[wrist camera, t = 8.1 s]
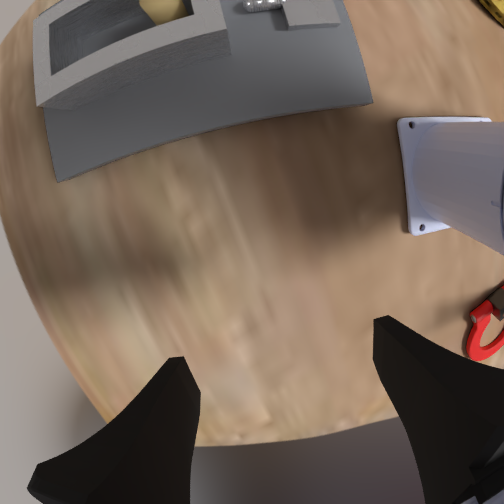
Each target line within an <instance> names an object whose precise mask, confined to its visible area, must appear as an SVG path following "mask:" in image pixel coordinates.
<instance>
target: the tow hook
mask: <svg viewBox="0 0 504 504" xmlns="http://www.w3.org/2000/svg"><path fill="white" fill-rule="evenodd" d="M491 313H492V314H493V315H494V316H495V317H496V318H497V319H498V320H499V321H501V320H502V319H503V318H504V285H503V286H502V287H501V288H498V289H497V290H496V291H495V292H494V293H493V294H491V295H490V296H489V297H488V298H487V299H486V301H485V302H483V303H482V304H481V305H480V306H478V307H477V308H476V309H475V310H473V311H472V312H471V313H470V318H471V320H472V322H473V323H474V326H473V328H472V329H471V332H470V334H469V337H468V340H467V345H466V350H467V354H468V355H469V357H470V358H471V359H472V360H474V361H481V360H484V359H486V358H488V357H490V356H491V355H493V354H494V353H495V352H496V351H498V350H499V349H500V348H501V347H502V346H503V345H504V330H503V331H502V333H501V334H500V335H499V336H498V337H497V339H496V340H494V341H493V342H492V343H491V344H489V345H488V346H485V347H480V339H481V336H482V334H483V332H484V330H485V328H486V326H487V325H488V324H489V322H490V314H491Z"/></svg>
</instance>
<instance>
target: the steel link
mask: <svg viewBox="0 0 504 504" xmlns="http://www.w3.org/2000/svg"><path fill="white" fill-rule="evenodd" d="M182 1H184V0H182ZM191 3H192V7H193V11H194V15H191V16H188V17H184V18H181V19H177V20H174V21H171V22H168V23H165V24H162V25H159V26H156V27H153V28H150V29H147V30H145V31H142V32H139V33H137V34H134V35H132V36H129V37H127V38H125V39H122V40H120V41H118V42H115V43H113V44H111V45H109V46H106V47H104V48H102V49H100V50H98V51H96V52H94V53H92V54H90V55H88V56H86V57H84V50H83V41H84V40H86V39H88V38H90V37H92V36H94V35H96V34H98V33H100V32H102V31H104V30H106V29H108V28H111V27H113V26H115V25H117V24H120V23H122V22H124V21H127V20H129V19H132V18H134V17H137V16H139V15H142V14H144V13H146V12H145V11H144V10H143V8H142V7H141V6H140V3H139V0H64V1H62V2H60V3H59V4H57V5H56V6H54V7H52V8H51V9H49V10H48V11H46V12H45V13H43V14H42V15H40V16H39V17H38V18H36V19H35V20H33V68H34V84H35V95H36V104H37V107H47V108H56V109H64V110H72V111H76V110H78V109H80V108H82V107H84V106H86V105H88V104H90V103H92V102H95V101H97V100H99V99H101V98H103V97H106V96H108V95H110V94H112V93H115V92H117V91H119V90H122V89H124V88H127V87H129V86H132V85H134V84H137V83H140V82H142V81H145V80H148V79H151V78H153V77H156V76H159V75H162V74H165V73H168V72H171V71H175V70H178V69H181V68H185V67H188V66H192V65H195V64H199V63H203V62H206V61H210V60H214V59H219V58H223V57H227V56H232V53H231V48H230V42H229V37H228V32H227V28H226V24H225V20H224V16H223V12H222V8H221V5H220V1H219V0H191Z"/></svg>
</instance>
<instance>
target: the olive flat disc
mask: <svg viewBox="0 0 504 504" xmlns="http://www.w3.org/2000/svg"><path fill="white" fill-rule="evenodd" d="M479 1H480V2H481V3H482V4H483V6H484V7H485V8H486V9H487V10H488V11H489V12H490V13H491V14H492V15H493V16H494V17H495V18H496V19H497V20H498V21H499V22H500V23H501V24H502V25H503V27H504V0H479Z"/></svg>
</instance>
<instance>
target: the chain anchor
mask: <svg viewBox="0 0 504 504" xmlns="http://www.w3.org/2000/svg"><path fill="white" fill-rule="evenodd" d="M243 7H244V9H245V10H247V11H249V12H256V11H263V10H271V9H281V12H282V15H283V18H284V21H285V24H286V28H287V31H293V30H304V29H318V28H337V27H338V26H339V25H340V24H341V22H340V19H339V16H338V13H337V10H336V8H335V5H334V2H333V0H244V2H243Z"/></svg>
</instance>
